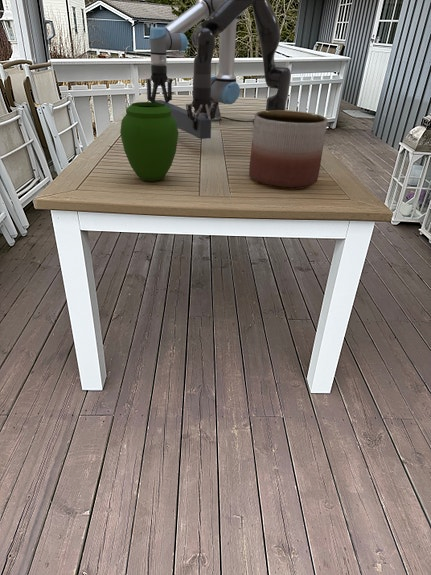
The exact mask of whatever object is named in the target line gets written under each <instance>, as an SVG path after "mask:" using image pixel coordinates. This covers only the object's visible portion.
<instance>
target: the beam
mask: <svg viewBox="0 0 431 575" xmlns="http://www.w3.org/2000/svg"><path fill="white" fill-rule="evenodd" d="M155 102H156V103H162V104H165V105H166V106H167V107H168V108H169V109H171V115H172V116H173V118H174V119H175V120H176V123H177V128H178V130H181V131H183V132H185V133H187V134H190V135H191V136H194V137H195V138H197V139H199V140H204V139H205V140H207V139H211V138H212V137H211V136H212V121H211V119H208V118H206V117H203V116H201V115H199V116H198V118H197V130H196V131H195V130H194V129H193V128H192V120H191V119H188V115H187V109H186V108H184V107H180V106H179V105H175V104H173V103H170V102H165V100H162V99H155ZM193 112H194V111H192V115H193Z"/></svg>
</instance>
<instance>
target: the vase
mask: <svg viewBox="0 0 431 575" xmlns="http://www.w3.org/2000/svg"><path fill="white" fill-rule="evenodd" d="M125 113H126V114H125V115H124V117H122V119H121V122H120V123H121V124H120V130H119V133H120V138H121V142H122V147H123V150H124V154H125V155H126V158H127V160H128V163H129V165H130V167H131V168H132V170H133V172H134V173H135V175H136V176H137V177H138V178H139V179H141V180H143V181H145V182H159V181H161V180H163V179H164V178H165V176H166V175H167V174H168V173H169V170H170V169H171V167H172V165H173V162H174V159H175V157H176V156H175V155H176V153H177V147H178V140H179V128H177V123H176V120H175V119H174V118H173V116H172V115H171V109H169V108H168V107H167V106H166V105H165V104H162V103H156V102H151V101H138V102H132V103H131V104H130V105H128V107H127V108H125Z"/></svg>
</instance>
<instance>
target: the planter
mask: <svg viewBox="0 0 431 575" xmlns="http://www.w3.org/2000/svg"><path fill="white" fill-rule="evenodd" d="M253 119H254V125H253V129H252V137H251V138H252V139H251V147H250V148H251V149H250V157H249V165H248V166H249V167H248V174H249V177H251V179H252V180H254V181H255V182H257V183H259V184H261V185H264V186H268V187H271V188H276V189H289V190H291V189H292V190H293V189H302V188H306V187H310V186H312V185H314V184H316V183H317V182H318V180H319V175H320V169H321V163H322V157H323V156H322V155H323V150H324V145H325V139H326V132H327V127H328V122H329V119H328V118H327V117H325V116H323V115H321V114H317V113H312V112H306V111H297V110H286V109H285V110H268V111H266V110H260V111H257V112H255V113H254V118H253Z"/></svg>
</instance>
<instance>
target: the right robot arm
mask: <svg viewBox="0 0 431 575" xmlns="http://www.w3.org/2000/svg"><path fill="white" fill-rule="evenodd" d="M250 6H251V8H252V12H253V17H254V21H255V26H256V32H257V38H258V42H259V44H260V45H259V46H260V52H261V58H262V63H263V73H264V74H263V75H264V81H265V84H266V86H267V88H270V89H276V90H277V91H276V93H275V94H273V95H271V96H268V97H267V98H266V105H265V111H268V110H286V104H287V101H288V97H289V91H290V86H291V80H292V73H291V72H292V71H291V69H290V68H289V67H287V66H277V65H276V62H275V55H276V52H277V49H278V48H279V46H280V45H279V44H280V42H281V30H280V23H279V20H278V17H277V15H276V13H275V11H274V9H273V7H272V4H270V1H269V0H226V1H225V2H224V3H223V4H221V5H220V6H219V8H218V9H217V10H216V11H215V12H214V13H213V14H212V15H211V16H210V17H208V18H207V19H204V21H202V22H201V23H200V24H199V25H198V26H196V28H195V29H194V30H193V32H192V33H191V44H192V46H193V47H194V48H196V49H197V53H196V56H195V57H194V59H193V76H192V101H191V103H185V110H187V115H188V119H191V120H192V128H193V129H194V130H195V131H196V130H197V118H198V116H199V114H200V113H204V114H205V117H206V118H208V119H214V118H215V113H216V109H217V104H216V103H211V77H212V61H213V57H214V51H215V48H216V47H215V46H216V36H217V35H220V33H222V32H223V31H224V30H225V29H226V28H227V27H228V26H229V25H230V24H231V23H232V22H233V21H234V20H235V19H236V18H237V17H238V16H239V15H240V14H241V13H242V12H244V11H246V9H248V8H249V7H250ZM242 14H243V13H242ZM242 14H241V15H242ZM241 15H240V16H241ZM210 106H211V112H209V108H210ZM192 112H193V115H192Z"/></svg>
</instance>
